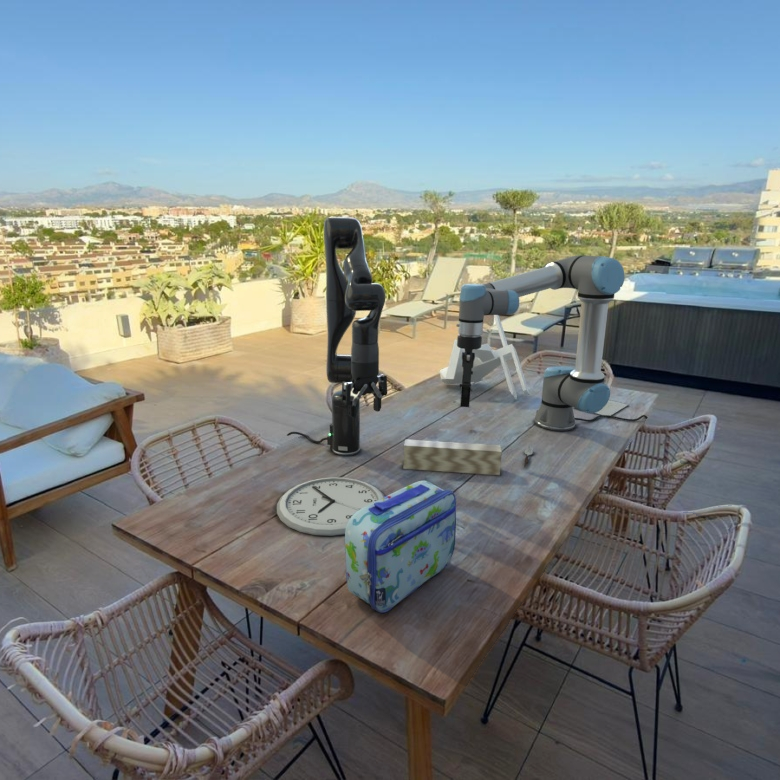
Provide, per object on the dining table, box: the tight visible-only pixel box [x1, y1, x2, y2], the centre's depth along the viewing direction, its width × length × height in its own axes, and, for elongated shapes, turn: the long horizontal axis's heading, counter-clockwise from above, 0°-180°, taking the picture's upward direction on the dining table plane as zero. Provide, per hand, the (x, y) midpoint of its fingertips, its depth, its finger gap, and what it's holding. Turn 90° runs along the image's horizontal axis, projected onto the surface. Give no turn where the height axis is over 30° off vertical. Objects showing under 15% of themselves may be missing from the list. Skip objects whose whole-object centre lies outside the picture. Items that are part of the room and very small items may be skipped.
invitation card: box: [595, 399, 629, 416], centre depth 226 cm, size 21×1×15 cm
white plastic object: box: [438, 315, 531, 400], centre depth 245 cm, size 37×45×31 cm
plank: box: [402, 439, 503, 476], centre depth 165 cm, size 30×5×8 cm, turn 83°
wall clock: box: [276, 476, 386, 537], centre depth 142 cm, size 30×2×30 cm
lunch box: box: [344, 480, 457, 614], centre depth 109 cm, size 26×11×21 cm, turn 135°
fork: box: [523, 444, 534, 468], centre depth 173 cm, size 3×16×2 cm, turn 160°
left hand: (364, 414), depth 147 cm, fingers open, 8 cm apart
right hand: (465, 400), depth 168 cm, fingers open, 13 cm apart
